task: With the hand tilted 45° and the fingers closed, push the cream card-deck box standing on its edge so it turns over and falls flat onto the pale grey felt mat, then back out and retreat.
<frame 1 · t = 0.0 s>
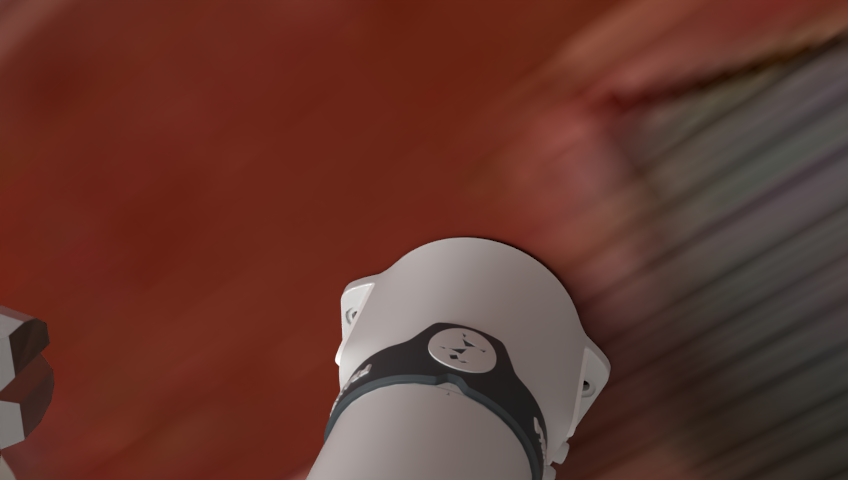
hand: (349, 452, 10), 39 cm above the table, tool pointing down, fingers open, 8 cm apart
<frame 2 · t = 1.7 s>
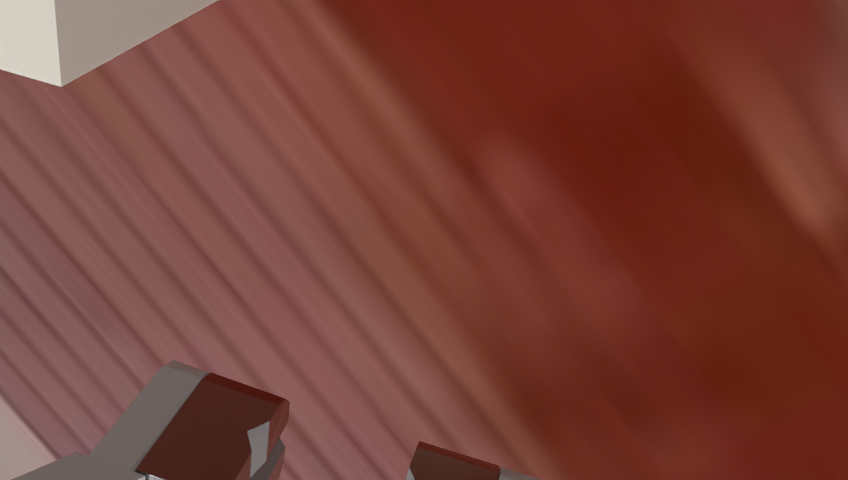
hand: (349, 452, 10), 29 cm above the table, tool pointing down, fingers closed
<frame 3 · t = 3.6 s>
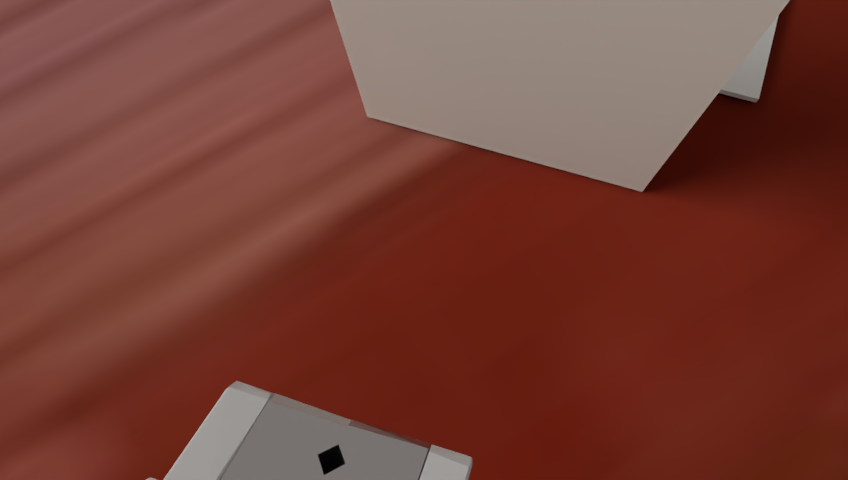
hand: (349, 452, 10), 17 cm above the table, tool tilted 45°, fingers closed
card box: (515, 108, 28), on the table
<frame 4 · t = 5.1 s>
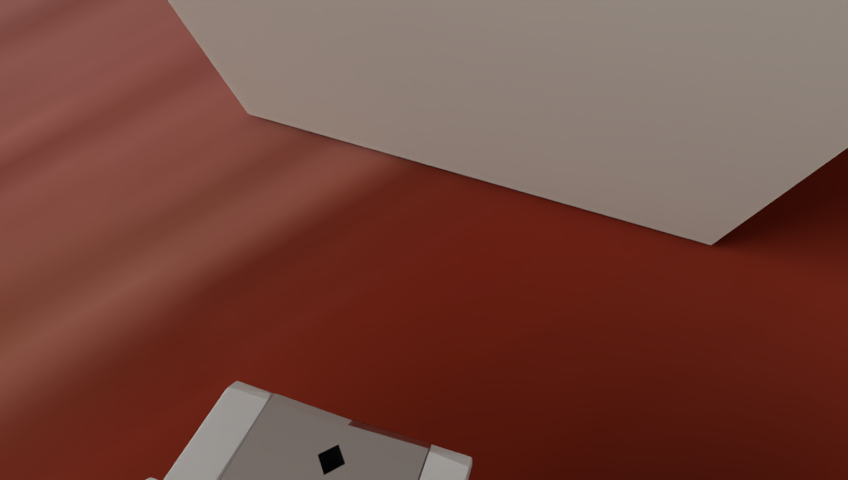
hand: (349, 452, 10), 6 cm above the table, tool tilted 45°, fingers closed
card box: (495, 101, 17), on the table
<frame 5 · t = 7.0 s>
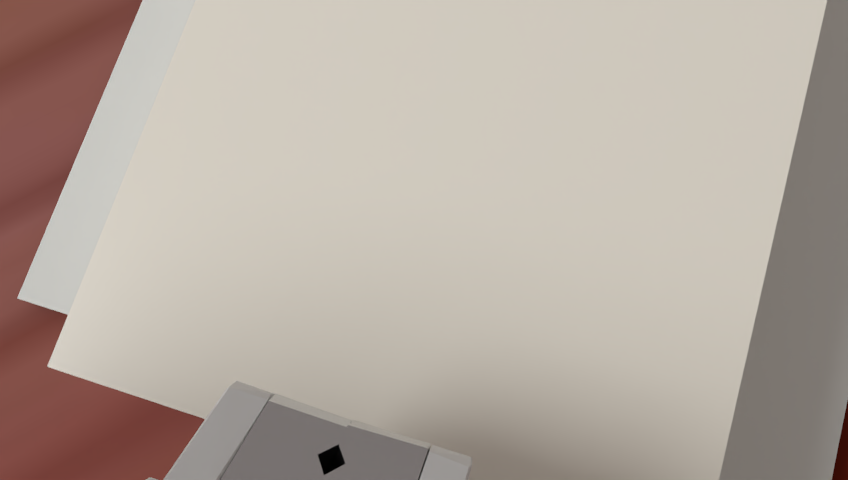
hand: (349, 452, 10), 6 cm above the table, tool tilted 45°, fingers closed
card box: (369, 462, 13), point 2 cm above the table, tilted 90°, touching felt mat
felt mat: (475, 160, 16), on the table
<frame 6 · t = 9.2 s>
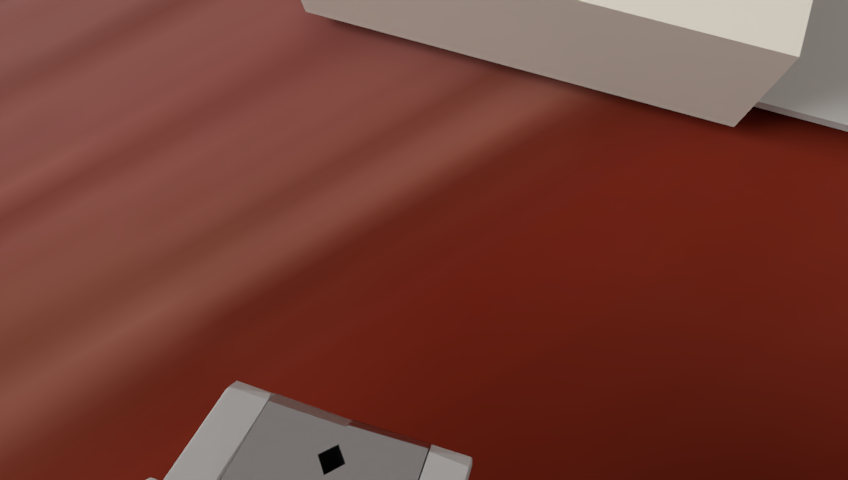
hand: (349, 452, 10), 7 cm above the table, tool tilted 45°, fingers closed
card box: (517, 31, 16), point 2 cm above the table, tilted 90°, touching felt mat
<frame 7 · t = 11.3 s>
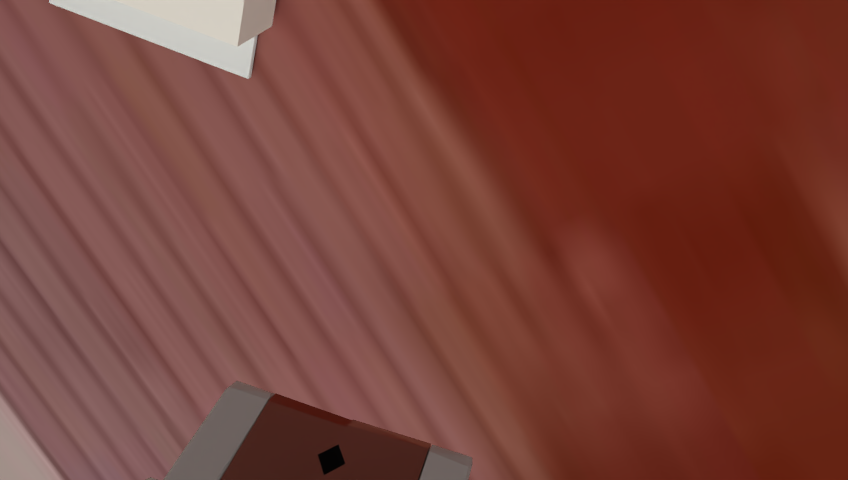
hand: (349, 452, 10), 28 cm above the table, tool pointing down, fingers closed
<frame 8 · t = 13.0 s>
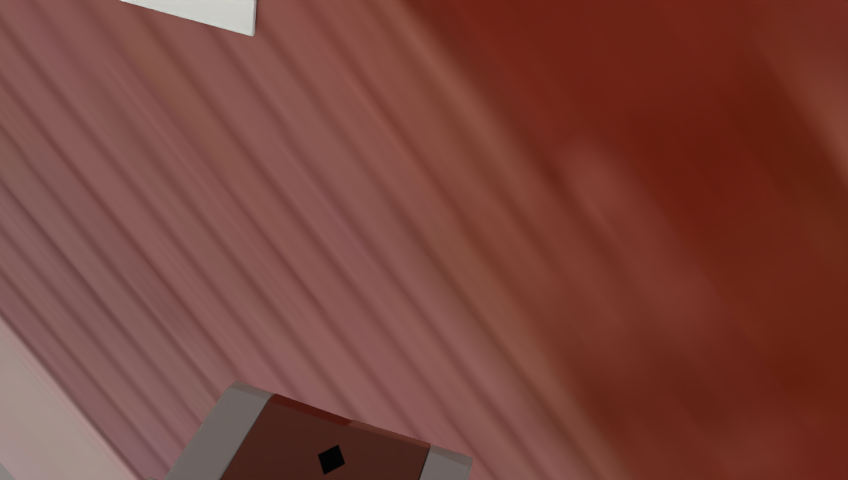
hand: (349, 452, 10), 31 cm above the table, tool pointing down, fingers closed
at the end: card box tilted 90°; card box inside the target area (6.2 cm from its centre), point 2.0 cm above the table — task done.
